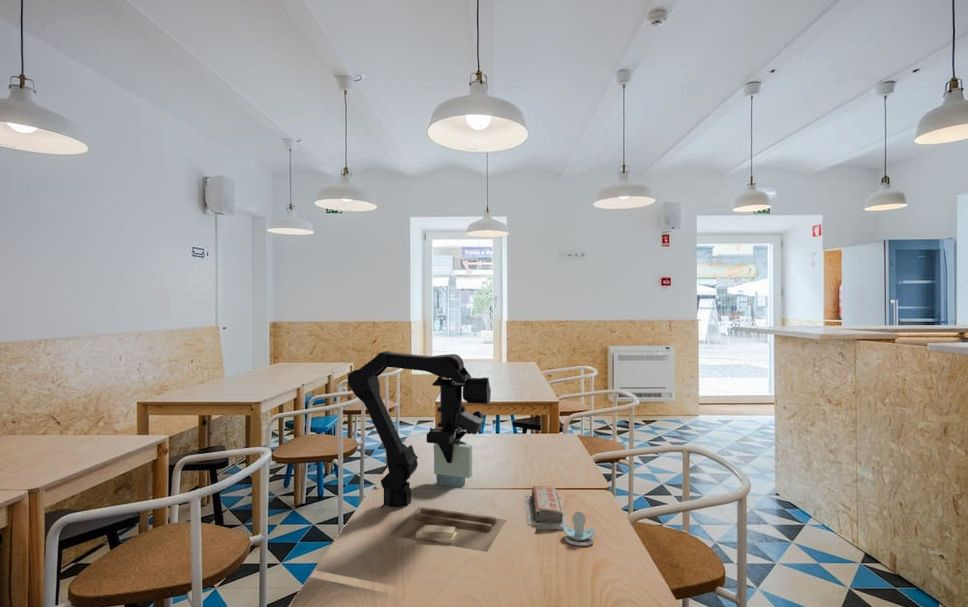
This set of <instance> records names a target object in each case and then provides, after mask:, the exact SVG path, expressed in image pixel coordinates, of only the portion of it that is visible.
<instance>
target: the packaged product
mask: <svg viewBox="0 0 968 607" xmlns="http://www.w3.org/2000/svg"><path fill="white" fill-rule="evenodd" d="M525 504H526V517H527V518H526V519H527V526H536V528H535V529H536V530H543V529H557V531H564V530H563V527H564V526H567V527H569V524H568V521H567V517H566V511H565V509H564V505H563V501H562V497H559V496H558V492H557V488H556V487H553V486H552V485H533V486H532V491H531V495H529V494H528V495H525Z"/></svg>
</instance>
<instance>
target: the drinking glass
mask: <svg viewBox="0 0 968 607" xmlns="http://www.w3.org/2000/svg"><path fill="white" fill-rule="evenodd" d="M459 444H465V445H468V443H467V442H465V441H462V440H460V442H459ZM435 475H436V485H437V486H439V487H444V488H445V487H446V488H452V489H453V488H454V489H462V488H463V487H464V486H465V485H466V478H464V477H456V476H448V475H440V474H435Z"/></svg>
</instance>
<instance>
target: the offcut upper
mask: <svg viewBox="0 0 968 607" xmlns="http://www.w3.org/2000/svg"><path fill="white" fill-rule="evenodd" d="M454 533H455V527H451V526H435V525H425V526H424V528H423V530H422V535H426V536H441V537H453V535H454Z"/></svg>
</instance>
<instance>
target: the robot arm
mask: <svg viewBox="0 0 968 607" xmlns="http://www.w3.org/2000/svg"><path fill="white" fill-rule="evenodd" d="M464 364H465V363H464V361H463V359H462V357H461V356H460V355H458V354H455V353H450V354H440V355H431V356H428V355H420V354H411V353H401V352H392V351H389V350H385V351H381V352H379V353H378V354H377V355H376V356H375V357H373V358H372V359H371V360H370V361H369V362H367V363H366V364H364V365H363V366H362V367H360V368H358V369H355V370H353V371H351V372H350V373H349V375H348V377H347V385H348V387H349V388H350V389H351V391H352V393H353V394H354V396H355V397H357V398H358V400H360V402H362V403H363V404H364V406H365V409H366V411H367V412H368V415H369V417H370V419H371V422H372V423H373V426H374V428H375V430H376V433H377V434H378V437H379V439H380V441H381V443H382V446H383V448H384V450H385V456H386V458H385V459H386V465H387V469H388V473H387V474H385V476H384V477H382V479H380V483H381V484H380V485H381V487H382V489H383V503H382V504H381V506H380V509H381V510H382V509H383V508H384V507H386V506H387V507H391V508H400V507H408V506H409V505H410V504H411V503H412V488H410V487H411V486H410V485H411V484H410V481H408V480H409V479H410V478H411V476H413V474H414V473H415V472H416V471H417V467H418V458H419V456H417V454H416V453H415V450H414V447H413V445H411V444H410V445H408V446H407V445H405V443H403V442H402V439H401V438H400V435H399V434H398V431H397V428H396V426H395V425H394V423H393V420H392V418H391V416H390V413H389V412H388V409H387V407H386V405H385V402H384V401H383V398H382V396H381V390H380V386H381V385H380V382H379V376H381V374H383V373H384V372H385V370H387V368H393V369H394V368H395V369H401V370H402V369H403V370H411V371H412V370H413V371H421V372H427V373H430V374H432V375H435V376H437V379H436V380H435V381H434V382H432V384H431V385H432V386H434V387H439V389H440V390H439V392H440V393H439V395H440V396H439V397H440V398H439V399H440V401H439V406H438V407H437V412H438V413H439V419H440V420H439V422H438V423H437V427H435V428H433V429H431V430H430V431H429V432H427V433H426V443H428V444H438V445H439V447H440V449H441V451H442V453H443V455H444V457H445V459H446V461H447V463H451V462H452V457H453V450H454V444H459V442H460V441H461V439H463V437H464V436H465V435H467V432H469V433H470V434H472V435H477V434H478V433H479V432H481V429H482V426H483V424H484V423H485V421H484V420H485V419H484V417H483V412H482V411H481V410H475V412H473V413H472V412H467V411H466V406H465V405H464V404H463V400H464V401H465V402H466V403H467V404H477V405H489V404H490V403H491V393H492V389H491V385H490V379H489V377H472V376H471V374H470V373H469V372H468V369H466V367H465V366H464ZM463 430H465V431H463Z"/></svg>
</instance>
